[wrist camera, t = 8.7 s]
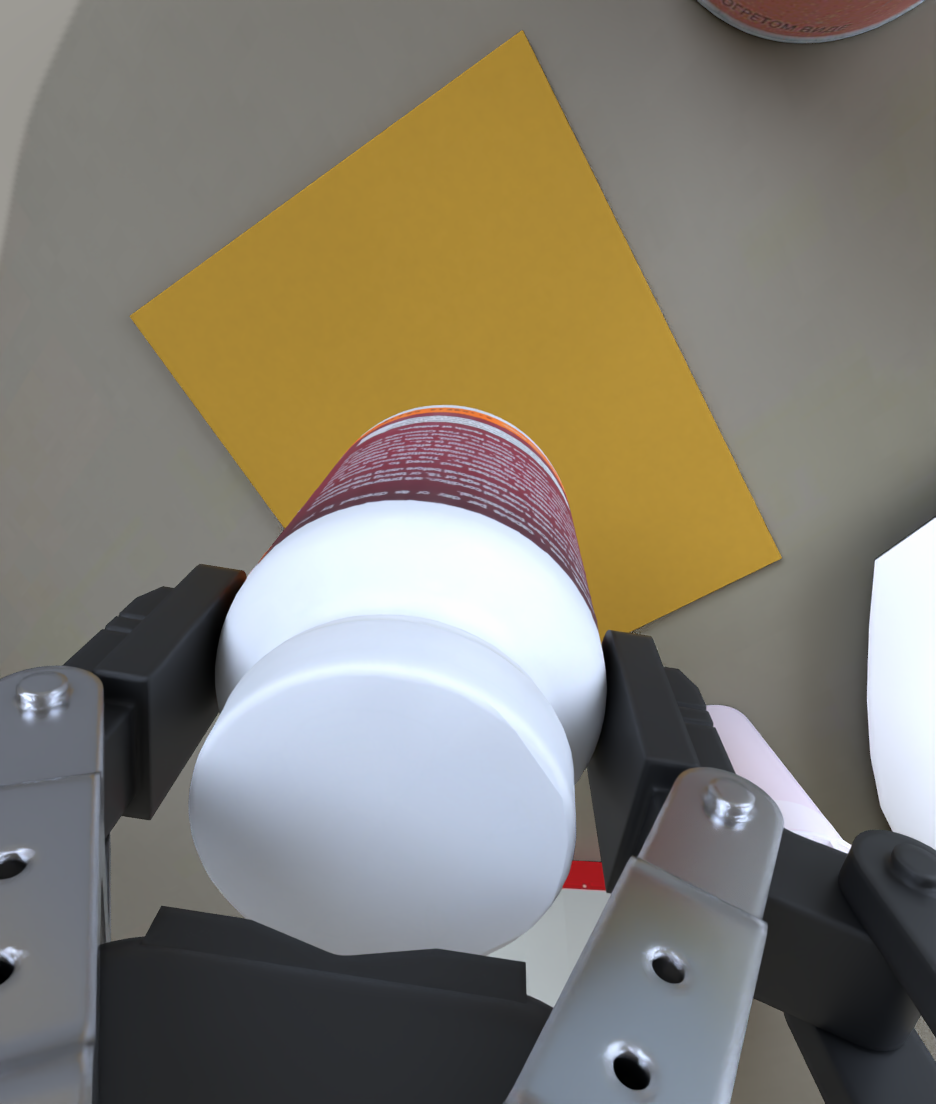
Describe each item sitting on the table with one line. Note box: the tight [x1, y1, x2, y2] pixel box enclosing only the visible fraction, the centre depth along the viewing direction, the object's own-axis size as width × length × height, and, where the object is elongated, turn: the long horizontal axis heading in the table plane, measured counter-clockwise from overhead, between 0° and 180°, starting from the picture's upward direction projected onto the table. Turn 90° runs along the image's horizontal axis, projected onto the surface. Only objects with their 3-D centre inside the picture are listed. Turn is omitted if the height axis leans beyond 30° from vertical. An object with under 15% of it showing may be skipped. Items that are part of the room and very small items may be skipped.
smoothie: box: [706, 705, 852, 853], centre depth 25 cm, size 6×6×14 cm
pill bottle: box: [188, 405, 607, 956], centre depth 14 cm, size 6×6×11 cm
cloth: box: [130, 30, 782, 645], centre depth 27 cm, size 20×16×1 cm
